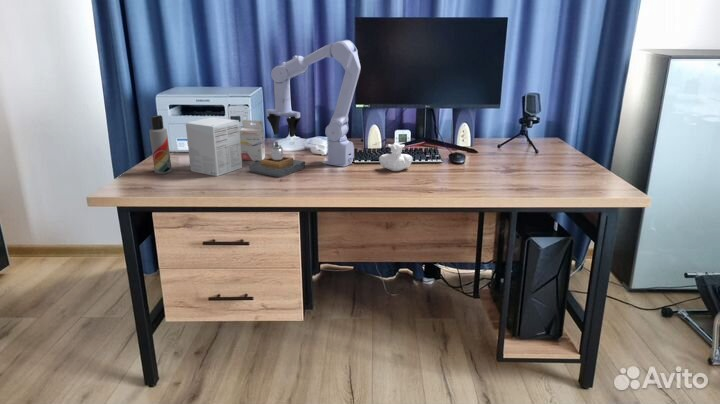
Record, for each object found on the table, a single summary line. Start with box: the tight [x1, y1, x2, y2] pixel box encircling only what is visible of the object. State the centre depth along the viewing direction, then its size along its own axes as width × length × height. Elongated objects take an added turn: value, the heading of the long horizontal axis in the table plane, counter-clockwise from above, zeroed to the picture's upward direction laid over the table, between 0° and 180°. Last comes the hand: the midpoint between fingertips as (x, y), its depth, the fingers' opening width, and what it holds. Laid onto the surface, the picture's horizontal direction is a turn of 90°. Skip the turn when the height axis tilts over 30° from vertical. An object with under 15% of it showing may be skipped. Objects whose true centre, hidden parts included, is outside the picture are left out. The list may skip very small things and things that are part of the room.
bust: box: [378, 142, 413, 172], centre depth 190 cm, size 12×8×11 cm
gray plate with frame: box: [248, 156, 306, 178], centre depth 192 cm, size 17×14×4 cm
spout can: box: [270, 141, 284, 162], centre depth 191 cm, size 4×4×10 cm
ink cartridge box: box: [239, 119, 266, 162], centre depth 204 cm, size 9×5×15 cm, turn 84°
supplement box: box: [185, 116, 243, 177], centre depth 190 cm, size 13×13×18 cm
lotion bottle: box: [148, 114, 172, 175], centre depth 186 cm, size 6×6×20 cm
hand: (284, 135), depth 203 cm, fingers open, 7 cm apart
